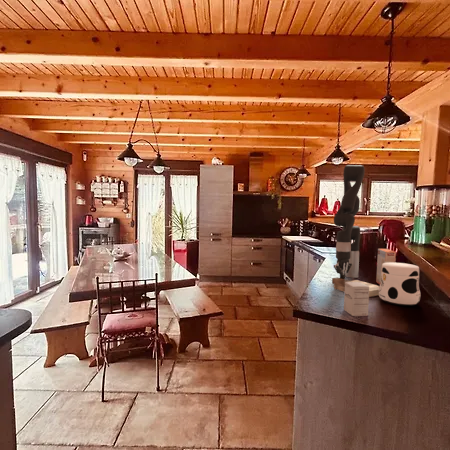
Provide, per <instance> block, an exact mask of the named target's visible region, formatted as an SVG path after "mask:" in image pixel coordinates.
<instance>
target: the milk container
mask: <svg viewBox="0 0 450 450" xmlns="http://www.w3.org/2000/svg"><path fill="white" fill-rule="evenodd" d="M378 286H379V295H378V296H379V298H380V300H382V301H384V302H385V303H388V304H391V305H396V306H405V307H410V306H415V305H418V304H419V303H420V300H421V296H422V295H421V294H422V293H421V290H420V267H419V266H418V265H415V264H410V263H405V262H395V263H383V264H382V272H381V283H380V285H378Z"/></svg>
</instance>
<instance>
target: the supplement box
mask: <svg viewBox="0 0 450 450" xmlns="http://www.w3.org/2000/svg"><path fill="white" fill-rule="evenodd" d="M343 300H344V301H343V311H345V312H347V313H348V314H349V315H350V316H352V317H361V316H362V317H364V316H365V317H366V316H369V304H370V303H369V300H370V297H369V286H367V285H365V284H363V283H361V282H345V292H344V298H343Z"/></svg>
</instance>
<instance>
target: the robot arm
mask: <svg viewBox="0 0 450 450" xmlns="http://www.w3.org/2000/svg"><path fill="white" fill-rule="evenodd" d="M365 169H366V168H365V167H364V165H361V164H359V165H357V164H355V165H354V164H347V165H345V166H344V168H343V195H342V198H341V203H340V206H339V208H338V210H337V211H336V213H335V215H334V218H333V224H334V225H335V226H336V227H342V228H341V230H339V231H337V233H336V245H335V258H336V259H337V260H336V264H333V268H334V270H335V272H336V273H337V274H339V278H341V279H345V280H346V278H359V266H360V265H359V264H360V263H359V262H360V239H361V228H360V226H358V225H355V221H356V219H355V216H356V215H357V214H358V213H359V211H360V197H359V196H358V194H359V192H360V189H361V186H362V183H363V180H364V178H365V173H366V171H365ZM351 182H354V184H353V185H352V184H351ZM351 241H353V242H351Z"/></svg>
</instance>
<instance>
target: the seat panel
mask: <svg viewBox="0 0 450 450" xmlns="http://www.w3.org/2000/svg"><path fill="white" fill-rule="evenodd" d="M352 281H353V282H361V283H363V284H365V285H367V286H369V298H370V297H376V296H379V286H380V285H377V284H373V283H369V282H365V281H361V280H358V279H354V280H352ZM333 289H334V290H337V291H341V292H343V293H345V287H342V286H339V285H335V284H333Z"/></svg>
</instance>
